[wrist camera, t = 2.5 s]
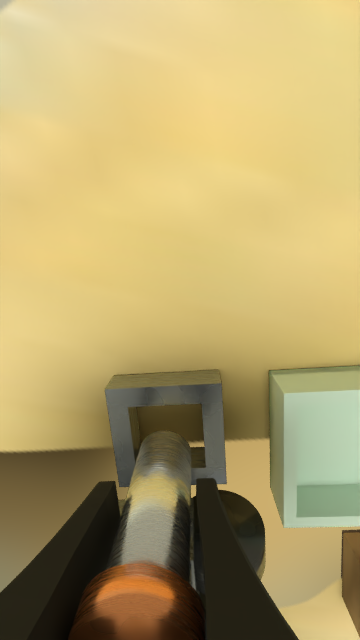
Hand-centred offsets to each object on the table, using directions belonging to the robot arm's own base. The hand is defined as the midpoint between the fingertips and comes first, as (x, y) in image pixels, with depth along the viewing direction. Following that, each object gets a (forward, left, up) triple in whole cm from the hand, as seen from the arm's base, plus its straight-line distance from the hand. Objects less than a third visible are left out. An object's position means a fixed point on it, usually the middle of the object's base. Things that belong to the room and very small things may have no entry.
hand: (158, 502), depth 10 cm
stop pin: (0, 0, -3) cm, 3 cm away
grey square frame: (0, 0, -5) cm, 5 cm away
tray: (-1, -9, -5) cm, 10 cm away
